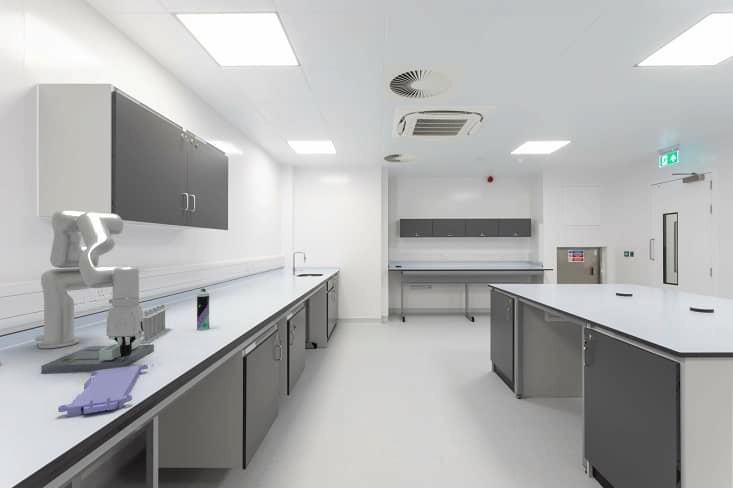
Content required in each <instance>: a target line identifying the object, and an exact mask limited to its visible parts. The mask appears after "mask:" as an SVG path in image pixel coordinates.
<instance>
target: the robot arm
mask: <svg viewBox="0 0 733 488" xmlns="http://www.w3.org/2000/svg"><path fill="white" fill-rule="evenodd" d="M51 226H52V229H53V238H52V239H53V240H52V245H51V251H50V256H49V262H50V264H51V266H53V267H54V268H53V269H49V270H46V271H45V272H43V273H42V274H41V277H40V285H41V289H42V292H43V293H42V294H43V312H44V313H43V334H38V335H36V337H35V338H34V341H35V342H38V341H39V342H41V343H39V344H38V348H39V349H46V350H47V349H48V350H49V349H58V348H64V347H69V346H73V345H76V344H78V343H79V342H80V338H77V337H75V301H74V298H73V297H72V296H71V295H70V294H68V292H71V291H73V292H74V291H81V290H88V289H90V288H91V289H103V288H112V298H111V299H109V300H108V303H109V304H111V305H112V306H110V307H109V310H108V315H107V319H106V329H105V332H106V336H107V337H108V340H112V341H115V342H116V343H117V344H118V345H120V354H121V357H127V356H129V355H131V352H132V343H133V342H134V341H135V340H136V339H139V338H140V339H143V330H144V321H143V315H144V314H143V313H144V312H143V309H142V305H140V284H139V283H140V271H139V268H138V267H137V266H128V265H125V264H123V265H99V262H100V261H99V260H100V256H102V255H103V256H104V254H107V253H109V252H110V251H112V250H113V249H114V248H115V245H116V243H115V240H114V238H113V236H112V235H115V236H117V235H120V234H121V233H122V232H123V231H124V228H125V227H124V221H123V219H122V218H121V216H120V215H118V214H117V213H109V212H102V211H101V212H99V211H89V210H88V211H84V210H72V209H59V210H56V211H55V212H54V213H53V215H52V216H51ZM81 240H83V243H84V244H81V242H82V241H81Z"/></svg>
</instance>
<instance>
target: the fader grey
mask: <svg viewBox="0 0 733 488" xmlns="http://www.w3.org/2000/svg"><path fill="white" fill-rule="evenodd" d="M140 340H141V338H139V339H136V340H135V341H134V342H133V343H132V349H134V348H136V347H138V346H140V345H141V344H140Z"/></svg>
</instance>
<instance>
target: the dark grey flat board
mask: <svg viewBox="0 0 733 488" xmlns="http://www.w3.org/2000/svg"><path fill="white" fill-rule="evenodd" d="M107 346H108V345H93V346H91V345H90V346H86V347H83V348H80V349H79V350H76V351H74V352H72V353H69V354H66V355H64V356H61V357H59V358H57V359H54V360H52V361H50V362H47V363H45V364H42V365H41V366H40V367H41V368H40V369H41V370H40V374H41V375H42V374H64V373H65V374H66V373H91V372H92V371H98V370H103V369H111V368H119V367H127V366H132V364H133V363H136V362H137V361H139V360H141V359H144V357H146V356H148V355H149V354H151V353H153V352H154V351H155V344H153V343H152V344H140V346H138V347H136V348H134V349H132V352H131V355H129V356H127V357H121V355H120V356H118V357H117V358H115V359H113V360H99V350H100V349H102V348H104V347H107Z"/></svg>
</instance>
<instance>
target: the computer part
mask: <svg viewBox="0 0 733 488" xmlns="http://www.w3.org/2000/svg"><path fill="white" fill-rule="evenodd" d="M147 369H149V368H148V364H136V365H129V366H127V367H119V368H111V369H103V370H98V371H92V372H90V377H89V379H87V381H86V382H85V383H84V384H83V385H84V386H83V387H84V390H83V391H82V392H81V393H80V394H78V395H77V396H76V397H75V399H73V400H72V402H71V403H68V404H62V405H59V406H58V409H57V410H58V413H64V412H67V418H72V417H77V416H78V417H79V416H81V415H82V414H83V415H85V414H92V413H100V412H105V410H107V411H112V410H116V409H119V410H121V409H122V408H123V407H124V404H125V403H128V402H130V401H133V395H132V394H130V393H131V390H132V389H133V388H134V386H135V383H136V381H137V380H138V378H139V376H140V374H141V372H142V370H147ZM92 377H93V378H92ZM99 411H100V412H99Z"/></svg>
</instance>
